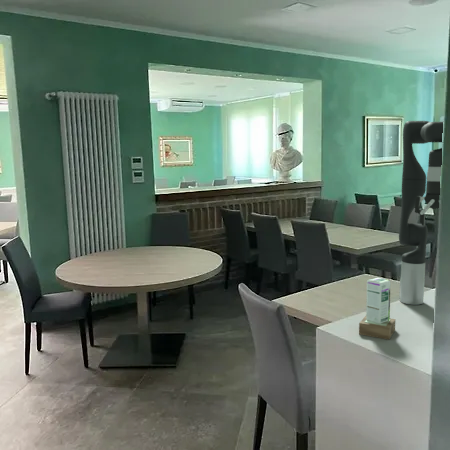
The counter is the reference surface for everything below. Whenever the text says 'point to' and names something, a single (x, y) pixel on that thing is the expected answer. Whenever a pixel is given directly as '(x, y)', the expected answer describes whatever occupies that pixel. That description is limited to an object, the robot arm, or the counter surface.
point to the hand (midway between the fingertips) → (436, 225)
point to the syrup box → (378, 300)
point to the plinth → (377, 328)
